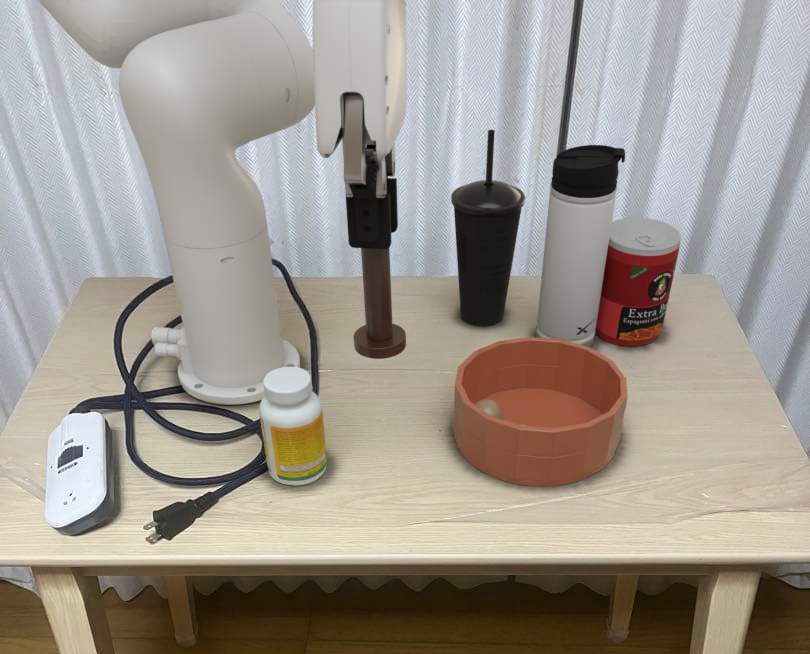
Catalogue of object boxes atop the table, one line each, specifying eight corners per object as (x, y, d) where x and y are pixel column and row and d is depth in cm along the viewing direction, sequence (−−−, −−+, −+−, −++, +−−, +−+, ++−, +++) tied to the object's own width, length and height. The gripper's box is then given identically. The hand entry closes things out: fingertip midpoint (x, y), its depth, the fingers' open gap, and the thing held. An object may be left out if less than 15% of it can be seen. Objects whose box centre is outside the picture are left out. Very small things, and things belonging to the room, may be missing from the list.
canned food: (621, 355, 91) (639, 256, 84) (575, 322, 97) (588, 226, 89) (677, 336, 94) (698, 238, 87) (629, 305, 99) (645, 211, 92)
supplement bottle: (256, 469, 78) (241, 379, 72) (302, 443, 81) (291, 354, 75) (294, 496, 76) (281, 404, 69) (340, 468, 78) (332, 378, 72)
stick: (349, 357, 72) (334, 172, 61) (360, 330, 75) (347, 150, 64) (401, 361, 71) (395, 175, 61) (410, 333, 74) (405, 152, 64)
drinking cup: (508, 336, 95) (522, 147, 81) (441, 328, 96) (443, 140, 83) (521, 304, 100) (536, 121, 86) (457, 296, 102) (462, 115, 88)
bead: (463, 416, 82) (474, 390, 80) (492, 422, 83) (504, 396, 81) (468, 434, 80) (480, 408, 78) (498, 441, 81) (510, 414, 79)
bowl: (445, 478, 77) (446, 423, 73) (463, 385, 88) (465, 332, 84) (618, 493, 75) (629, 437, 71) (615, 396, 86) (624, 342, 82)
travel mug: (595, 358, 91) (625, 163, 77) (533, 352, 92) (551, 159, 78) (597, 328, 96) (626, 139, 82) (538, 323, 97) (556, 136, 83)
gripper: (330, -69, 60) (347, 196, 73) (268, -21, 49) (301, 284, 61) (436, -69, 59) (435, 199, 72) (399, -19, 48) (406, 290, 60)
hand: (373, 236), depth 66 cm, fingers closed on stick, 2 cm apart
